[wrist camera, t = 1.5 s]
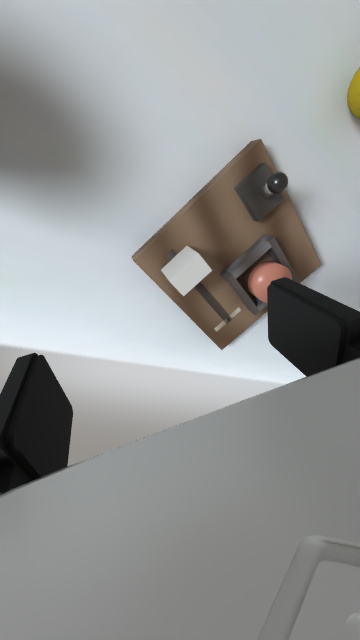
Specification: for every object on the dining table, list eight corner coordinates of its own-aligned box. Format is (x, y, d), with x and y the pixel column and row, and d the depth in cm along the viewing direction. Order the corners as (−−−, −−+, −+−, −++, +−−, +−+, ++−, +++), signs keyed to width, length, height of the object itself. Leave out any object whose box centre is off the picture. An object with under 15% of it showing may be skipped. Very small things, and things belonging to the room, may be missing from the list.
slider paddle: (186, 245, 29) (198, 253, 26) (199, 260, 30) (212, 270, 27) (160, 269, 30) (169, 281, 26) (174, 284, 31) (183, 296, 27)
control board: (251, 141, 28) (272, 135, 25) (311, 260, 37) (332, 268, 34) (131, 256, 30) (135, 265, 27) (216, 342, 39) (227, 357, 36)
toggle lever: (264, 180, 27) (283, 164, 23) (275, 194, 28) (295, 181, 23) (251, 192, 28) (267, 179, 23) (262, 206, 28) (279, 195, 24)
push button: (271, 252, 30) (281, 256, 29) (287, 279, 33) (298, 284, 31) (241, 279, 31) (249, 285, 29) (259, 304, 33) (267, 310, 31)
